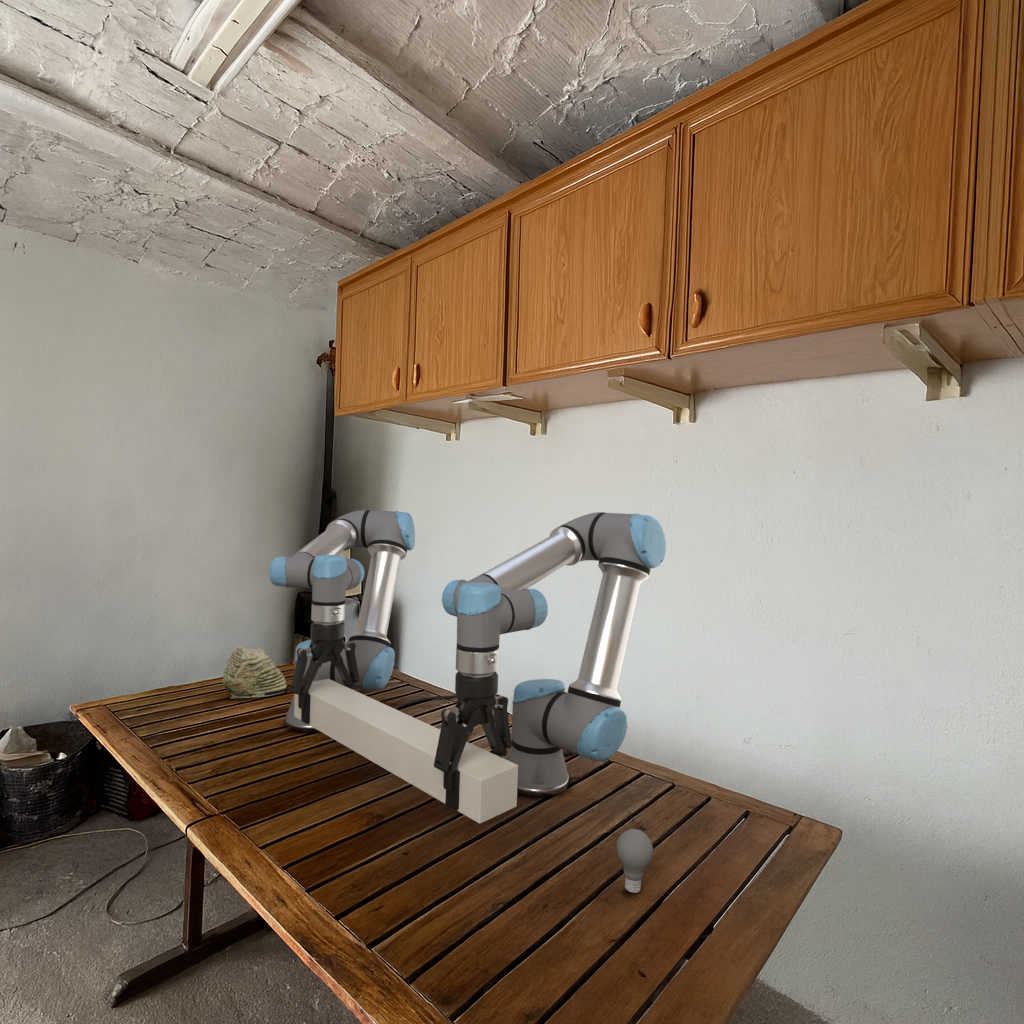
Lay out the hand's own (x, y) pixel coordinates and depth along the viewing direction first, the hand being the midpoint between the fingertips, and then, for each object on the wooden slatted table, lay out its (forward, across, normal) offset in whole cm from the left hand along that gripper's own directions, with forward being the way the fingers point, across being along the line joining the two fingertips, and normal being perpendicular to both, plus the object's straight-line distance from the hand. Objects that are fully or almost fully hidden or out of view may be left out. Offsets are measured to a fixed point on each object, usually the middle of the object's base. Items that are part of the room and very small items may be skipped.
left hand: (324, 717), depth 148 cm
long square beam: (+1, +1, -26) cm, 26 cm away
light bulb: (+11, +17, -76) cm, 78 cm away
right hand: (0, +2, -52) cm, 52 cm away
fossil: (+12, +8, +61) cm, 63 cm away
